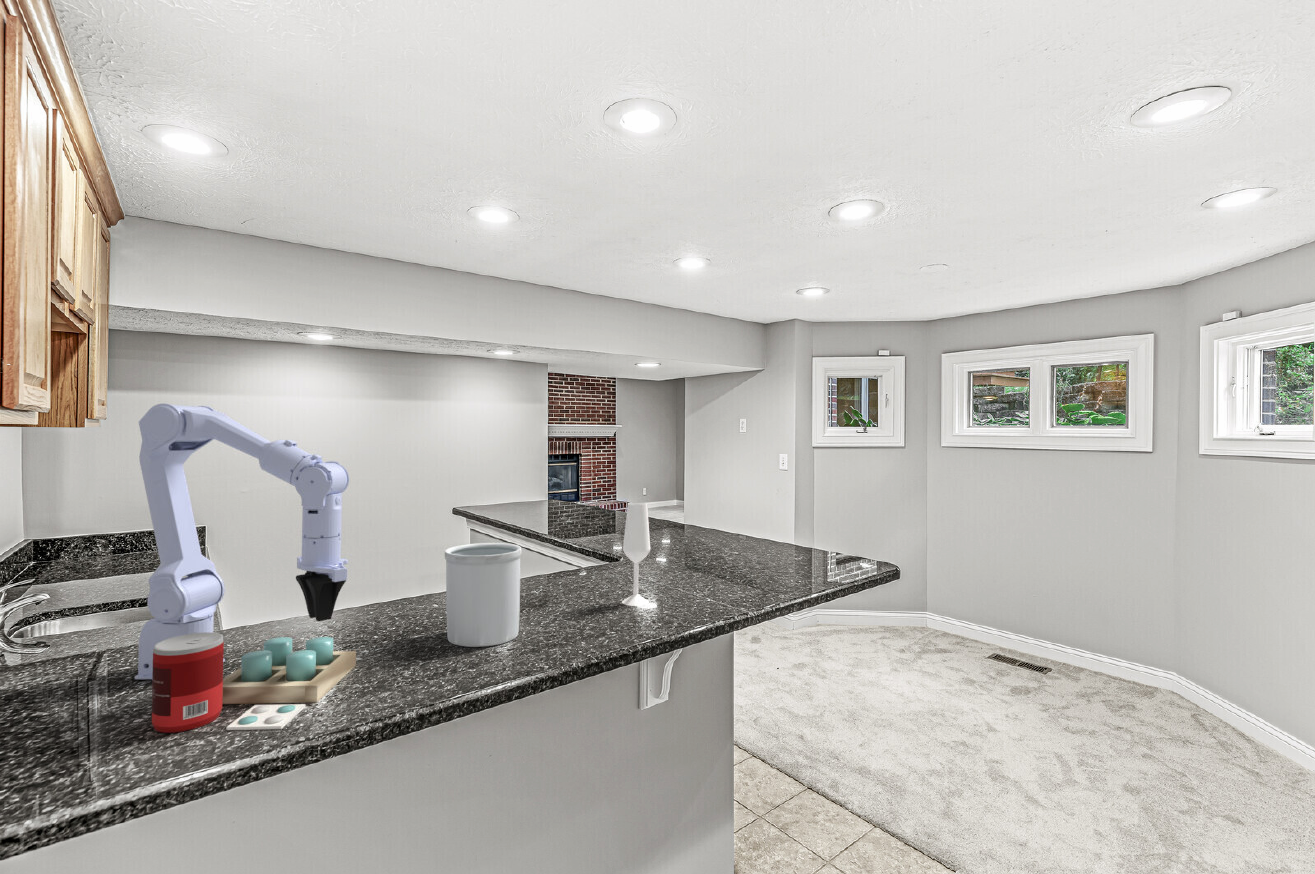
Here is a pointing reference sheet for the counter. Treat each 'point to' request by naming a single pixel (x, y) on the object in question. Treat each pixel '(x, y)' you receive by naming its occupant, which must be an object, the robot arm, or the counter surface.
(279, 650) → the button
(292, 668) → the button
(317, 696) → the wooden compartment tray
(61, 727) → the counter surface
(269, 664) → the button
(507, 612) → the utensil holder
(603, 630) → the counter surface
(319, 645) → the button
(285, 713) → the tile
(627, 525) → the champagne flute
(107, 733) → the counter surface
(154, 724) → the canned food
